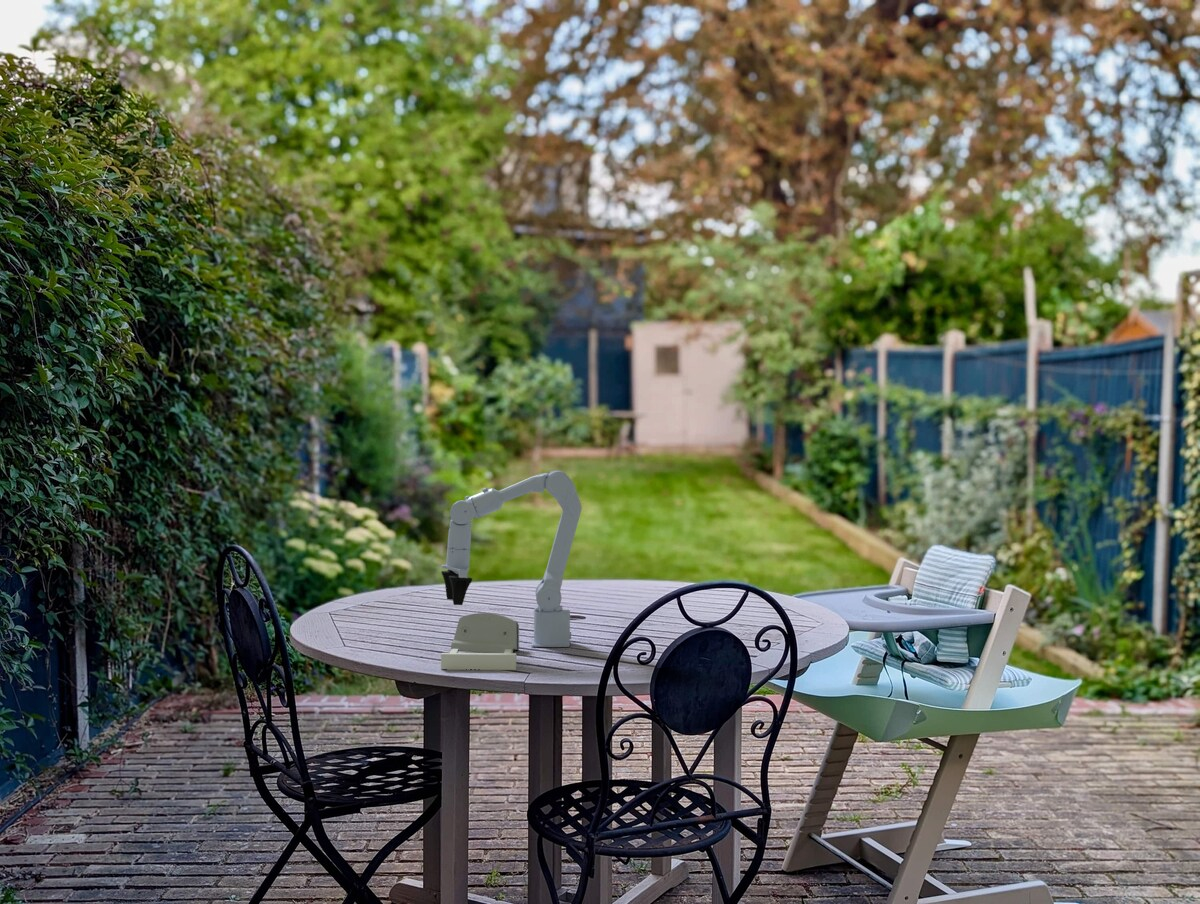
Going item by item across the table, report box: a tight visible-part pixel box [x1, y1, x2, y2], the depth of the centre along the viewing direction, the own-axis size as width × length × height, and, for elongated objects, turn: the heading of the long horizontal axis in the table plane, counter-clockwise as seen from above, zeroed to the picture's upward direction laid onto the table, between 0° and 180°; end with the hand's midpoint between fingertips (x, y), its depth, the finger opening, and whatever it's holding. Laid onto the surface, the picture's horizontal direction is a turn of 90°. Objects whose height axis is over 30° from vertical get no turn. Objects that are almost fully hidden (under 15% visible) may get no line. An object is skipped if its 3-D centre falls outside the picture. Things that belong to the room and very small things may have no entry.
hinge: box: [450, 612, 520, 653], centre depth 279 cm, size 17×5×10 cm, turn 75°
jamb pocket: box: [440, 648, 517, 671], centre depth 261 cm, size 17×8×4 cm, turn 91°
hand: (454, 602), depth 284 cm, fingers open, 7 cm apart
